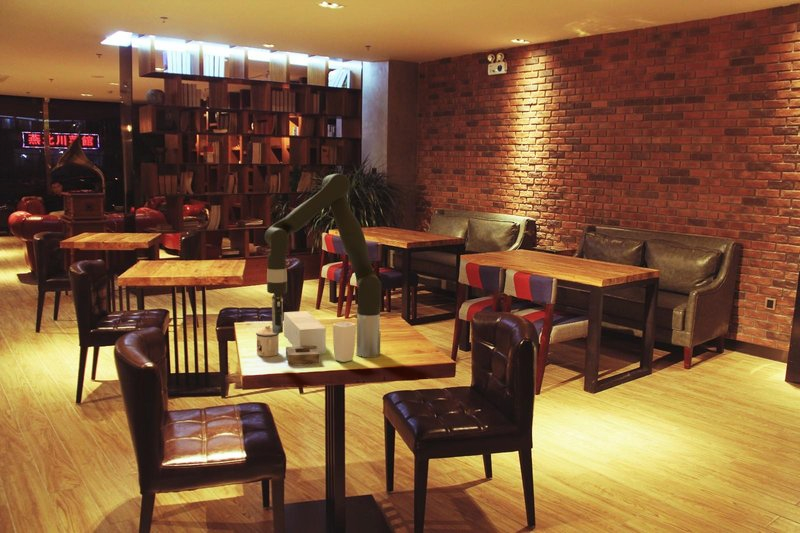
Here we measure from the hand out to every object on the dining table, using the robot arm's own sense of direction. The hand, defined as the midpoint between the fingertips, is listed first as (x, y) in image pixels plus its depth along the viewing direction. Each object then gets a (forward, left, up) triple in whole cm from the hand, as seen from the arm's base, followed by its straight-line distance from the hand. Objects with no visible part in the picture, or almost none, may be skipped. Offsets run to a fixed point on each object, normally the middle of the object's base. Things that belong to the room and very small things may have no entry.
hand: (277, 323), depth 269 cm
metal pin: (0, 0, -3) cm, 3 cm away
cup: (-26, +1, -16) cm, 30 cm away
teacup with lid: (+3, -12, -16) cm, 20 cm away
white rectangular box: (-13, -26, -16) cm, 33 cm away
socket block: (-10, -2, -16) cm, 19 cm away
